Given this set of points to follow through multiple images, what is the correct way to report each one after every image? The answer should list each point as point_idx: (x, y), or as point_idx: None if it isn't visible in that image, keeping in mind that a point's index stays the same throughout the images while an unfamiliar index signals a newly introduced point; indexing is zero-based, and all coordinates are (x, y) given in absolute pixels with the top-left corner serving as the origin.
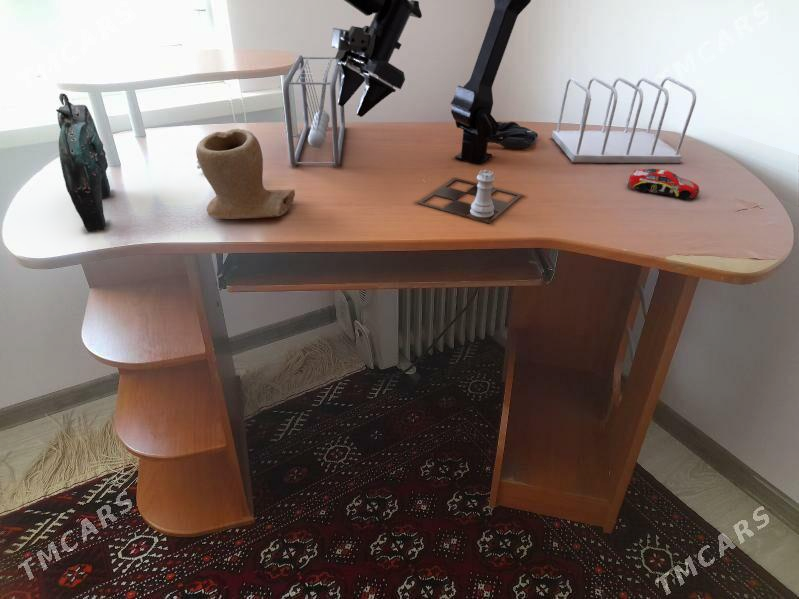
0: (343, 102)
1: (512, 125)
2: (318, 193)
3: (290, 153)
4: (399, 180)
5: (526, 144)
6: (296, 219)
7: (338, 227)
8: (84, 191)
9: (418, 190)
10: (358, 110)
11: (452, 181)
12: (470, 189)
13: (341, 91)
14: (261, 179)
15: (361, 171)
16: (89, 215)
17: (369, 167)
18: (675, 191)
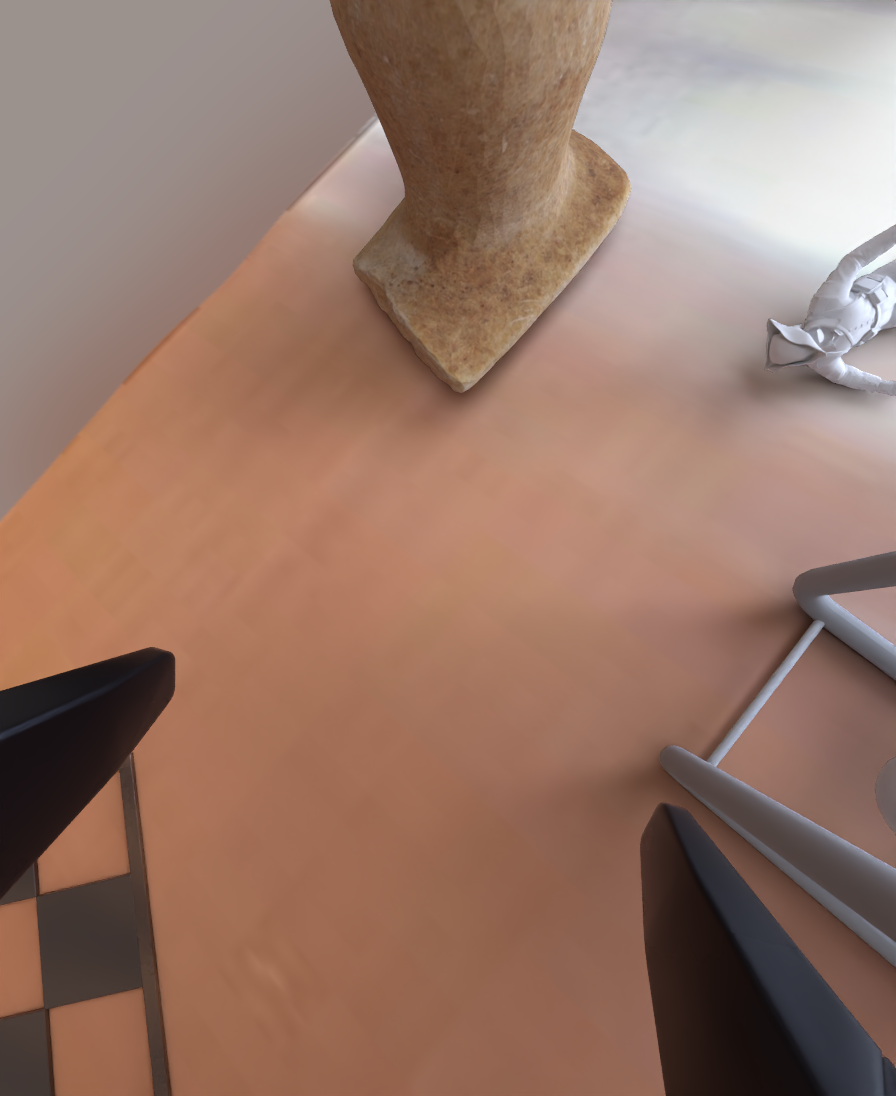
0: (651, 873)
1: None
2: (472, 516)
3: (828, 566)
4: (349, 881)
5: None
6: (346, 343)
7: (208, 412)
8: None
9: (214, 860)
10: (115, 658)
11: (156, 1072)
12: (43, 1054)
13: (727, 937)
14: (398, 152)
15: (552, 820)
16: None
17: (570, 892)
18: None
